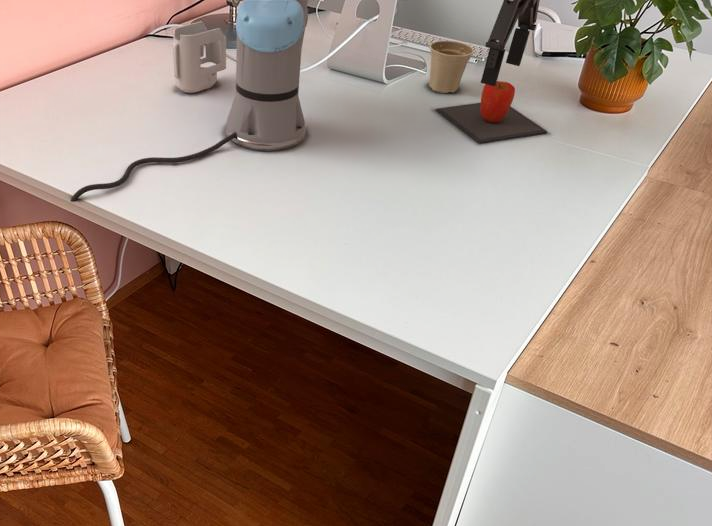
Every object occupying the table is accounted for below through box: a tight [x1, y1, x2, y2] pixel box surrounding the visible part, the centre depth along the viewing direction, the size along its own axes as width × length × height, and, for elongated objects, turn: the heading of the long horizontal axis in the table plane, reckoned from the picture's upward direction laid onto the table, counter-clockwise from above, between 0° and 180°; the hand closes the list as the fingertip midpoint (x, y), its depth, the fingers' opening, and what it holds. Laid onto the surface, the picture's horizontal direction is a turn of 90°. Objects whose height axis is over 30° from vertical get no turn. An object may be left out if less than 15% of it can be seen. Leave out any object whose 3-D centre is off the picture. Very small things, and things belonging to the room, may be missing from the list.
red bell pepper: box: [480, 80, 516, 123], centre depth 141 cm, size 6×6×8 cm
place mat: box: [435, 102, 548, 145], centre depth 144 cm, size 16×16×1 cm
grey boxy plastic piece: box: [172, 20, 227, 94], centre depth 149 cm, size 7×12×12 cm, turn 135°
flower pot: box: [428, 40, 475, 94], centre depth 153 cm, size 9×9×9 cm
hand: (500, 74), depth 137 cm, fingers open, 13 cm apart
